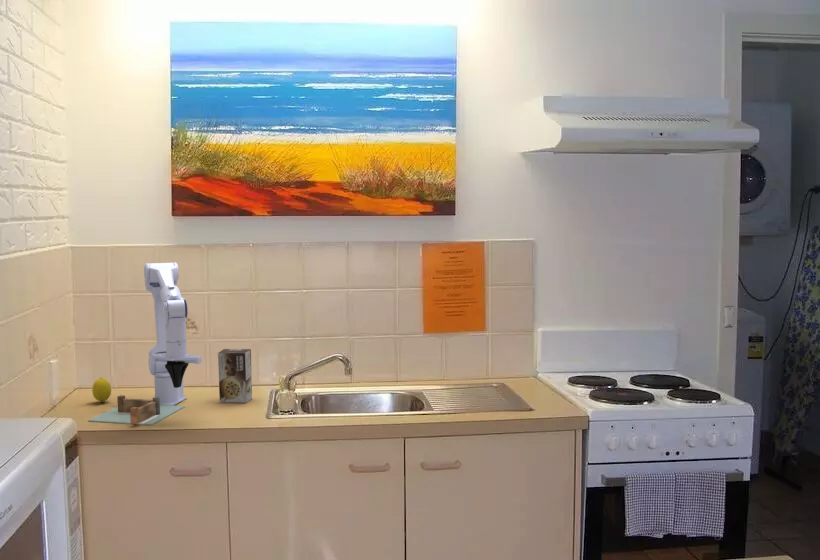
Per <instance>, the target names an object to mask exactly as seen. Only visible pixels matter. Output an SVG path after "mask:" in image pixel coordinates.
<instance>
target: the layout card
mask: <svg viewBox="0 0 820 560" xmlns="http://www.w3.org/2000/svg"><path fill="white" fill-rule="evenodd" d="M184 408H186V406H185V405H160V414H159V415H152V416H150V417H148V418H146V419H144V420H142V421H140V422H139V423H136V424H135V425H142V426H144V425H145V426H154V425H155V424H157V423H159V422H161V421H162V420H164V419H166V418H167V417H170V416H171V415H173V414H175V413H177V412H179V411H181V410H182V409H184ZM87 422H92V423H106V424H107V423H110V424H123V425H124V424H127V425H132V424H131V420H130V413H124V412H123V413H120V412H118V406H115V407H113V408H111V409H109V410H107V411H105V412H103V413H101V414H98V415H97V416H94V417H92V418H90V419H88V420H87Z"/></svg>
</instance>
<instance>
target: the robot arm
mask: <svg viewBox="0 0 820 560" xmlns="http://www.w3.org/2000/svg"><path fill="white" fill-rule="evenodd" d="M143 266H144V267H143V276H144V287H145V290H146V291H148V292H150V293H151V295H152V298H153V304H154V305H153V306H154V320H155V331H156V344H155V345H154V346H153V347H152V348H151V349H149V351H148V369H149V374H150V375H151V376H153V378H154V397H159V398H160V405H174V406H176V405H177V404H179V403H181V402H182V401H185V400H186V399H187V396H185V395H184V393H185V391H184V389H185V388H184V375H185V373H186V370H187V368H188V366H189V364H196V365H199V364H201V363H202V355H194V354H188V352H187V351H188V350H187V349H188V347H187V319H188V315H189V307H188V301H187V299H186V298H185V297H182V293H181V291H180V288H179V287H178V286H177V285H178V280H179V275H180V274H179V270H180V269H179V265H178V263H177V262H176V261H173V262H155V263H154V262H153V263H149V262H146V263H145V264H144V265H143Z"/></svg>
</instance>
